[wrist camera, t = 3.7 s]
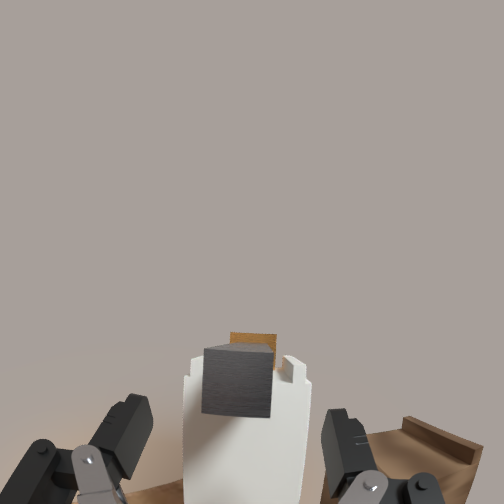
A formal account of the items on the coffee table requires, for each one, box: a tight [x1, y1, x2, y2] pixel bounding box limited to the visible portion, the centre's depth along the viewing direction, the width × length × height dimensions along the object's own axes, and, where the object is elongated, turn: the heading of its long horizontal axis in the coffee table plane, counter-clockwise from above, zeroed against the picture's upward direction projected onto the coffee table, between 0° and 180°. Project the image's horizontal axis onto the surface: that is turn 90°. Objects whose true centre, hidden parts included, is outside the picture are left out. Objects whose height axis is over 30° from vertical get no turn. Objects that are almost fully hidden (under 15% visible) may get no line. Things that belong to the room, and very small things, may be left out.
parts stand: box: [183, 355, 312, 504], centre depth 22 cm, size 10×12×34 cm
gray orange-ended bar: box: [201, 332, 277, 418], centre depth 22 cm, size 5×22×4 cm, turn 178°
